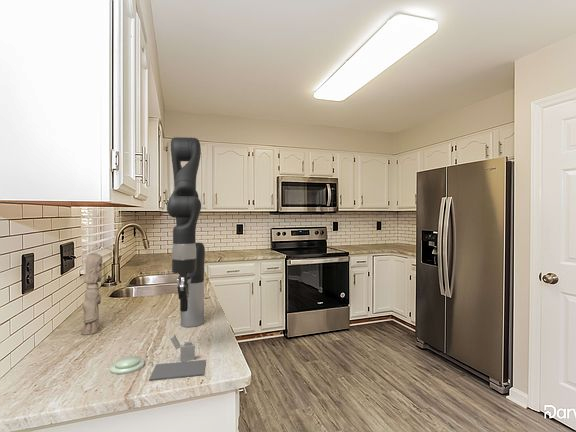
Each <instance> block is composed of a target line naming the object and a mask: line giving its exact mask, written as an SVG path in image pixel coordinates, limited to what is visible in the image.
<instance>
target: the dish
mask: <svg viewBox="0 0 576 432" xmlns="http://www.w3.org/2000/svg"><path fill="white" fill-rule="evenodd" d="M144 366H145V359H144V358H142V357H139V356H136V355H128V356H123V357H121V358H118V359H117V360H115V362H113V363H111V364H110V366H109V372H110V373H111V374H113V375H127V374H131V373H134V372H137V371H139V370H141V369H142V368H144Z"/></svg>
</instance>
